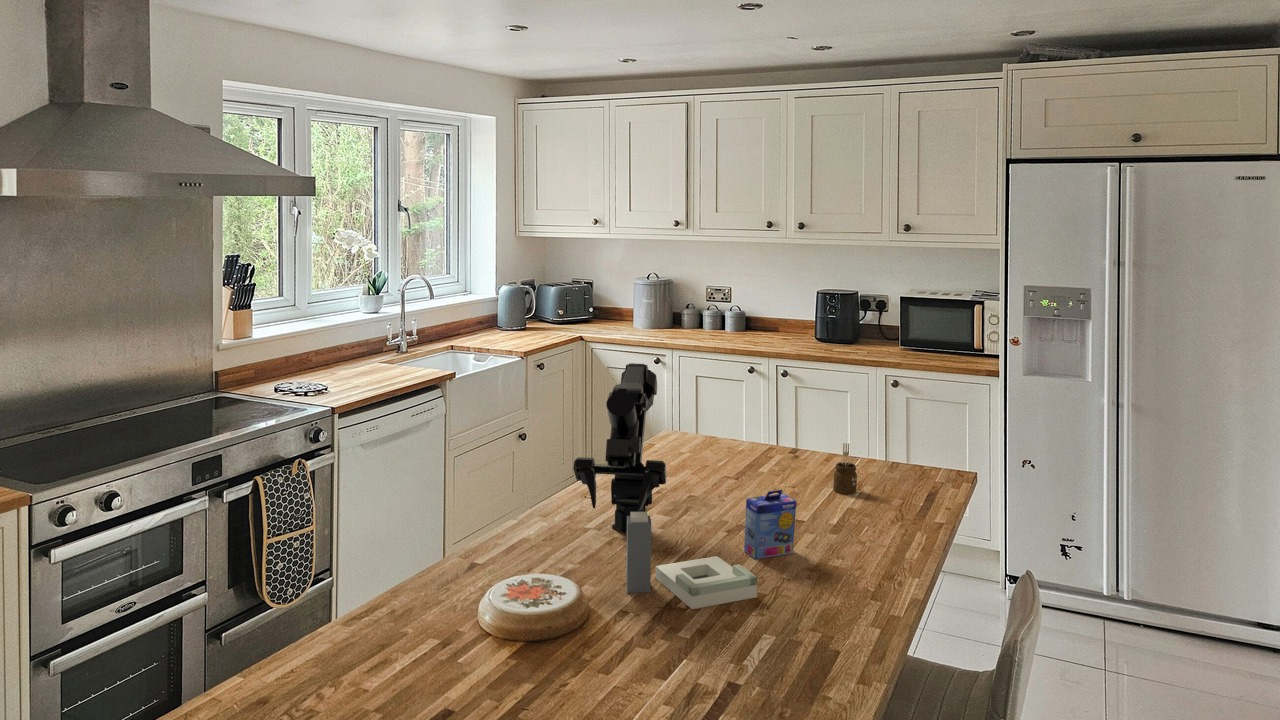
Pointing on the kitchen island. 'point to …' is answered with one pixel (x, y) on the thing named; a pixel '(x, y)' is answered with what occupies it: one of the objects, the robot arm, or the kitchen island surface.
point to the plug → (638, 553)
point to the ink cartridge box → (769, 525)
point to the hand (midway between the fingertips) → (616, 508)
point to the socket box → (707, 581)
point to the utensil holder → (845, 476)
